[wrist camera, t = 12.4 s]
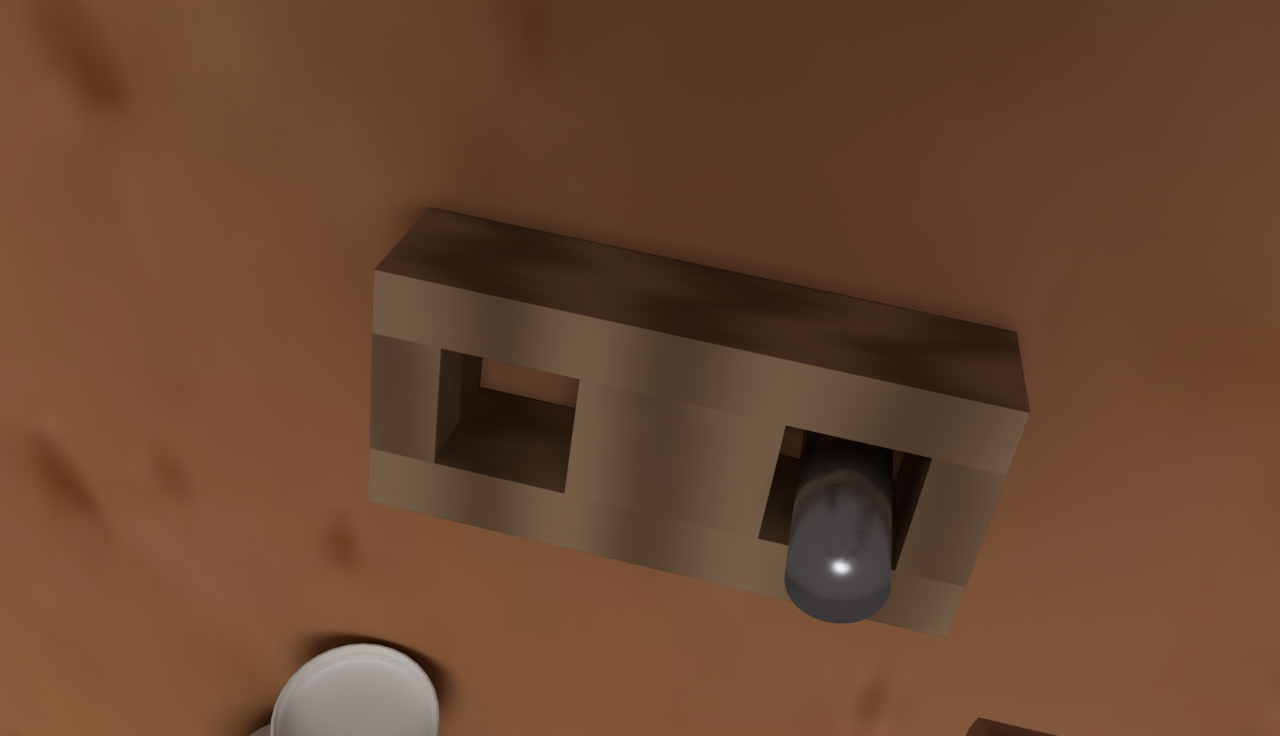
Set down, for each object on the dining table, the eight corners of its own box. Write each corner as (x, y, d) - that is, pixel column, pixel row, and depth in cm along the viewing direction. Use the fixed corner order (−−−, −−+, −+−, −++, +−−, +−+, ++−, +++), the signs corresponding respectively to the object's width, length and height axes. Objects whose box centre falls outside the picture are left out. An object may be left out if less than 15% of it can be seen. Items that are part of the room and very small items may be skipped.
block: (1016, 332, 39) (1030, 413, 34) (941, 544, 43) (945, 638, 39) (429, 207, 41) (374, 269, 36) (418, 423, 45) (368, 501, 41)
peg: (903, 389, 41) (902, 554, 33) (881, 460, 42) (876, 633, 34) (816, 370, 41) (796, 530, 33) (798, 441, 42) (775, 609, 35)
